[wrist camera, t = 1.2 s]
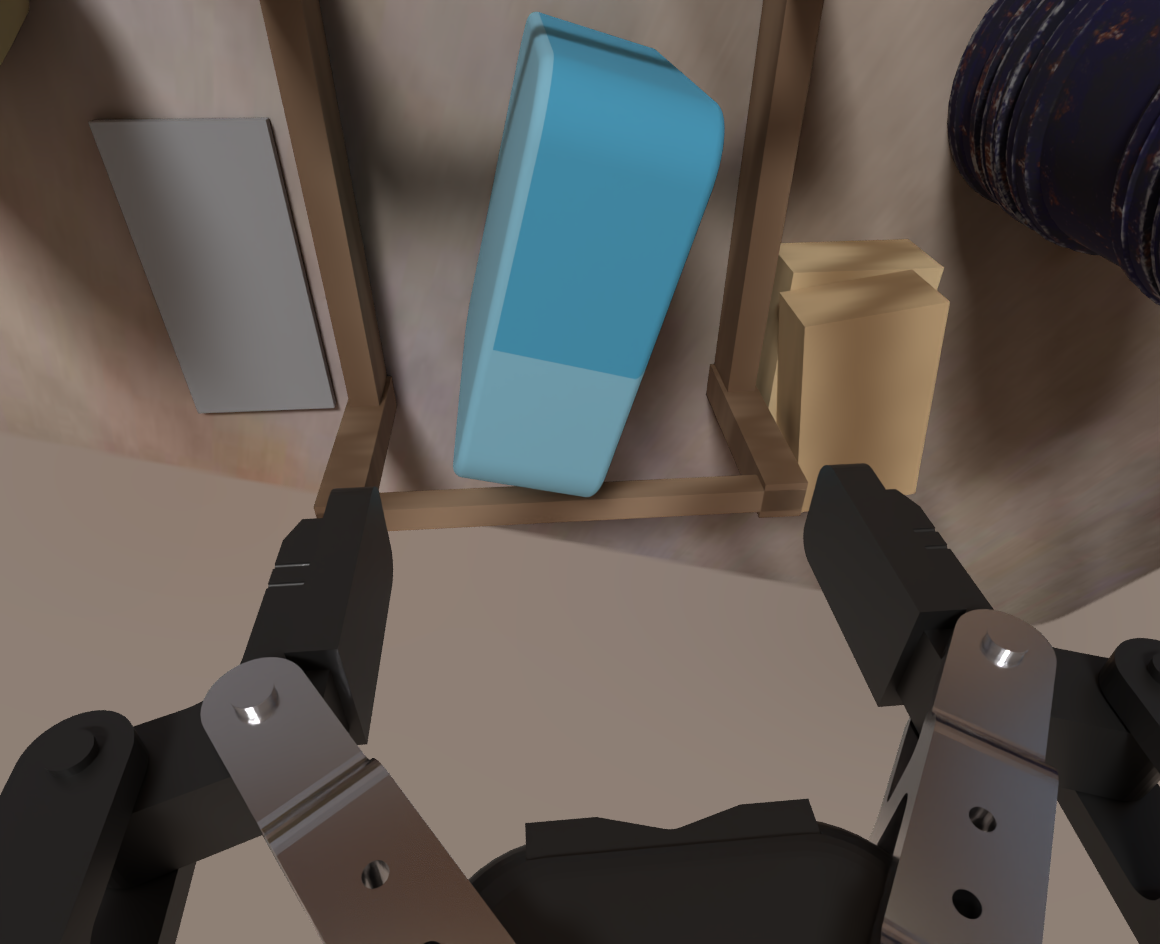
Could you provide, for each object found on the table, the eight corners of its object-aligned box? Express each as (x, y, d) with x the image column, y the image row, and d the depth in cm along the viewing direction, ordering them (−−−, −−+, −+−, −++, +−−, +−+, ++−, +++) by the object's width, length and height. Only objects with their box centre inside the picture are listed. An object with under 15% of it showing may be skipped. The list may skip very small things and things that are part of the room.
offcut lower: (904, 236, 31) (944, 267, 28) (851, 429, 37) (879, 471, 34) (767, 240, 30) (793, 273, 28) (736, 435, 37) (755, 477, 34)
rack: (820, -104, 23) (959, -113, 16) (739, 392, 35) (800, 515, 27) (252, -109, 22) (131, -121, 15) (361, 407, 33) (323, 540, 26)
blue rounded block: (566, 343, 32) (592, 520, 23) (465, 321, 31) (449, 497, 22) (653, 44, 25) (742, 119, 16) (528, 4, 24) (544, 59, 15)
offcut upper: (912, 269, 28) (950, 302, 26) (885, 452, 34) (915, 493, 31) (779, 292, 28) (804, 326, 26) (775, 471, 34) (795, 513, 31)
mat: (268, 117, 26) (265, 120, 25) (336, 403, 33) (334, 407, 33) (93, 119, 25) (88, 122, 25) (201, 408, 33) (198, 413, 32)
